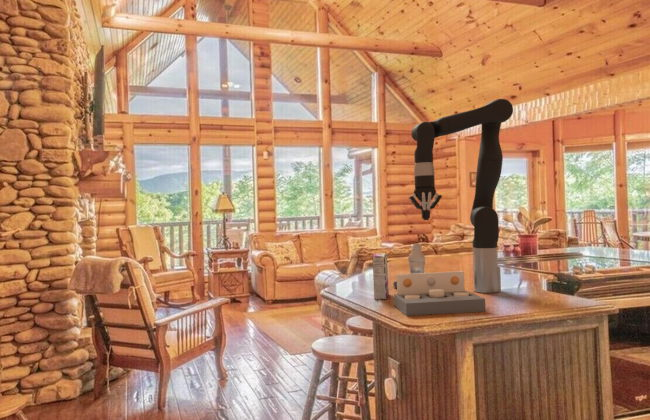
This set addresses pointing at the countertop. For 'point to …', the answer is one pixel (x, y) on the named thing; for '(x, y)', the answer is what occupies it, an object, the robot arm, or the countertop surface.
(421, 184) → the robot arm
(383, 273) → the candy bar box
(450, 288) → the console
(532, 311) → the countertop surface
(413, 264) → the metal water bottle
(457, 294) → the button
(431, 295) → the button middle
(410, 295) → the button
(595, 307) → the countertop surface
